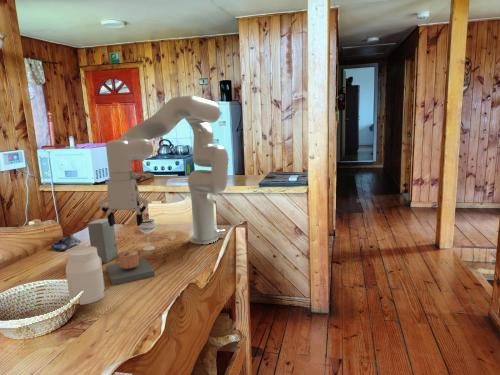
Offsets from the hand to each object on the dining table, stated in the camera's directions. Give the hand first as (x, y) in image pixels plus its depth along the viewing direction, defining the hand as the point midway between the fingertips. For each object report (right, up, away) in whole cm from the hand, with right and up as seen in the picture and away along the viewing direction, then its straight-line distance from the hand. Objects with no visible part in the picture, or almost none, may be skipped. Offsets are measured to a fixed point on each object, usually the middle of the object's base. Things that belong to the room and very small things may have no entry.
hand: (126, 225), depth 132 cm
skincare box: (-14, -15, +18) cm, 28 cm away
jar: (-8, -21, -13) cm, 26 cm away
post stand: (0, -18, +3) cm, 18 cm away
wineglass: (0, -13, +29) cm, 31 cm away
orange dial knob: (0, -14, +3) cm, 15 cm away
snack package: (-37, -13, +34) cm, 52 cm away
